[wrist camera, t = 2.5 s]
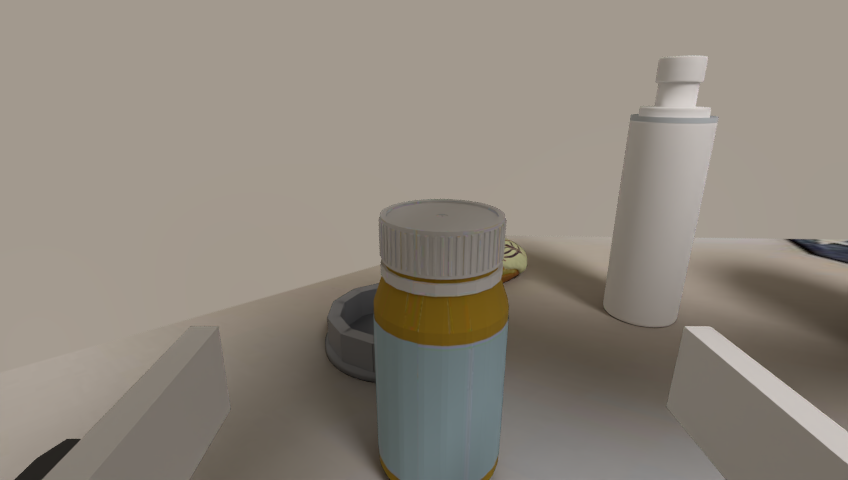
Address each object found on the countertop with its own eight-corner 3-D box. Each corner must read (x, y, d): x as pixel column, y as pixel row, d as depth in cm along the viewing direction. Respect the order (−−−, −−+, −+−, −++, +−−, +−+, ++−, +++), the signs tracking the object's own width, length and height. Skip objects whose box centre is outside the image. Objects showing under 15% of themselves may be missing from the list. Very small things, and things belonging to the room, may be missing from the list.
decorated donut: (542, 282, 51) (546, 251, 50) (459, 296, 47) (460, 264, 46) (496, 252, 60) (498, 226, 59) (424, 263, 56) (424, 235, 55)
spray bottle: (603, 292, 48) (639, 42, 40) (672, 302, 45) (725, 39, 37) (601, 319, 42) (644, 33, 34) (681, 333, 40) (746, 28, 32)
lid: (457, 307, 44) (458, 279, 43) (473, 382, 33) (474, 346, 32) (338, 309, 44) (336, 280, 43) (312, 384, 33) (308, 348, 32)
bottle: (361, 439, 27) (349, 205, 23) (456, 403, 31) (462, 192, 26) (412, 532, 22) (410, 245, 17) (522, 476, 25) (547, 221, 20)
